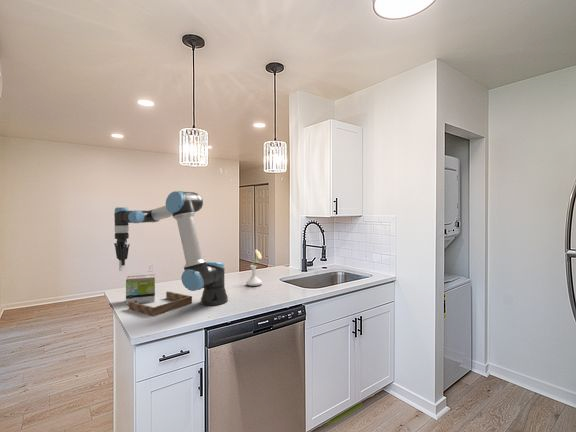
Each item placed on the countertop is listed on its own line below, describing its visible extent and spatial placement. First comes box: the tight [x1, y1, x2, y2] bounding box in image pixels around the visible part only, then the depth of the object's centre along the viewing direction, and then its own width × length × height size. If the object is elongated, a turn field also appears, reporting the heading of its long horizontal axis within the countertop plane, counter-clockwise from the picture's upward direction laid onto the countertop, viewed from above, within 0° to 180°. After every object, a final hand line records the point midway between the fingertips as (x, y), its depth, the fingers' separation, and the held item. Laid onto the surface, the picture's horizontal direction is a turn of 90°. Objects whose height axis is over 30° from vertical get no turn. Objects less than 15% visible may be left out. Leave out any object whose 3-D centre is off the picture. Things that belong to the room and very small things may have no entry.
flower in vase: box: [245, 249, 263, 287], centre depth 211 cm, size 13×11×25 cm
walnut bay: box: [128, 291, 193, 317], centre depth 165 cm, size 21×24×4 cm
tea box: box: [125, 273, 156, 306], centre depth 175 cm, size 15×10×15 cm, turn 114°
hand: (122, 270), depth 184 cm, fingers closed
